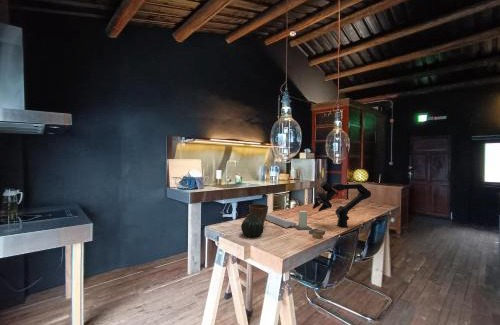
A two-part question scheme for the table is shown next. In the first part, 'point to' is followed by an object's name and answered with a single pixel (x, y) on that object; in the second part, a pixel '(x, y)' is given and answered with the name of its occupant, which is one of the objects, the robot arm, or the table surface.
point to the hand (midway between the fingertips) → (315, 209)
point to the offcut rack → (314, 230)
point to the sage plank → (302, 219)
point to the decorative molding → (279, 221)
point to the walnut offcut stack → (317, 234)
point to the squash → (252, 226)
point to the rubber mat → (302, 228)
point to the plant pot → (259, 211)
